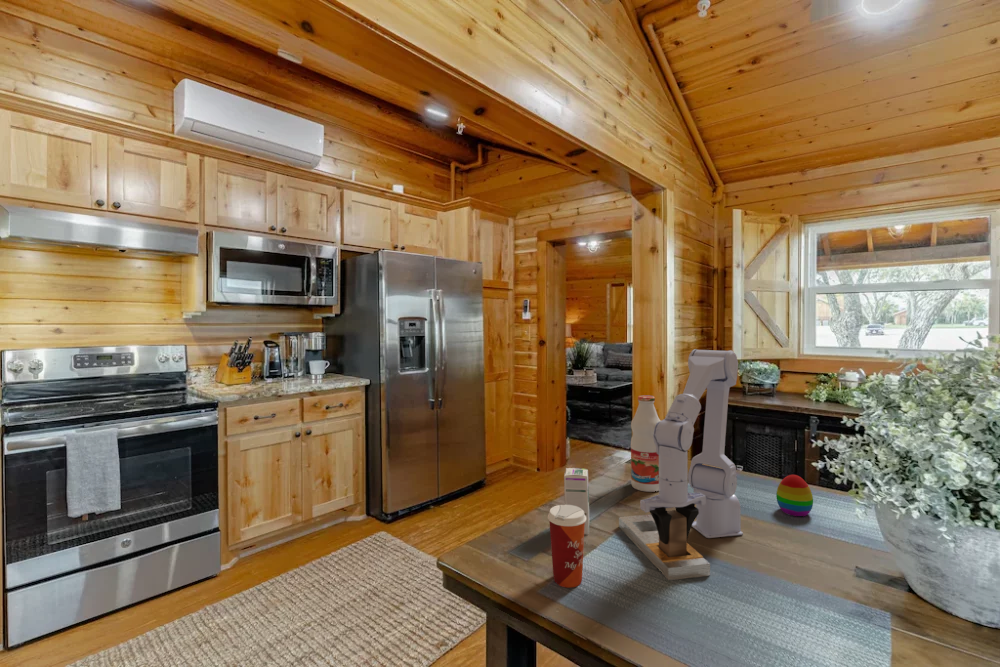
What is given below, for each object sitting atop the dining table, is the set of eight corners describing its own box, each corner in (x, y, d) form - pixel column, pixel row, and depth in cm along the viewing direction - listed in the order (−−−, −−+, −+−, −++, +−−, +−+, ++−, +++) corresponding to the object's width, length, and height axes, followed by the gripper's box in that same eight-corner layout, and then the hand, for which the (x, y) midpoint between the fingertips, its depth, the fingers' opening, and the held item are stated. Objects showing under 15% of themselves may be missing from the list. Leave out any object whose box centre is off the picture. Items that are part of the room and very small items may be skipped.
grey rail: (652, 523, 117) (652, 513, 117) (710, 575, 93) (709, 562, 93) (619, 526, 116) (618, 516, 115) (668, 580, 92) (668, 567, 92)
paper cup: (578, 595, 87) (577, 522, 87) (541, 583, 91) (540, 514, 91) (593, 575, 94) (592, 507, 94) (558, 565, 98) (557, 500, 98)
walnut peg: (675, 550, 101) (674, 510, 101) (686, 559, 97) (686, 517, 97) (658, 553, 100) (658, 512, 100) (670, 562, 96) (669, 519, 96)
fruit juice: (666, 484, 144) (665, 395, 143) (659, 494, 136) (658, 400, 135) (635, 479, 149) (634, 393, 148) (627, 489, 141) (626, 397, 140)
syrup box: (589, 535, 112) (588, 475, 111) (564, 533, 113) (563, 474, 112) (589, 524, 117) (588, 468, 117) (566, 523, 118) (565, 467, 118)
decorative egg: (799, 505, 126) (799, 469, 126) (820, 518, 118) (820, 480, 118) (769, 506, 126) (769, 470, 126) (789, 519, 118) (789, 481, 118)
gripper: (690, 468, 104) (690, 527, 104) (632, 474, 100) (632, 536, 100) (712, 478, 97) (712, 542, 97) (650, 485, 93) (651, 552, 94)
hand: (673, 540), depth 98 cm, fingers closed on walnut peg, 4 cm apart
